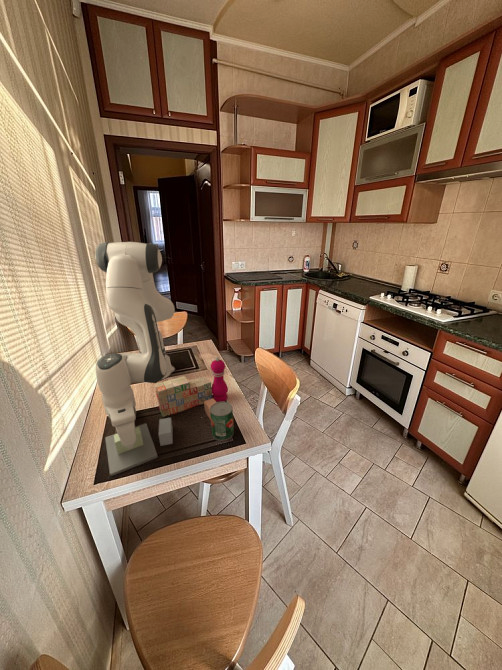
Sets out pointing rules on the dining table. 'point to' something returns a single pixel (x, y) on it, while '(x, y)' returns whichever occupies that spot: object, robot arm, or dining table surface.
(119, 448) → the sage brick
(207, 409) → the terracotta brick
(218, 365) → the pepper mill
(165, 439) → the slate brick
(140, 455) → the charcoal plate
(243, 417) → the dining table surface
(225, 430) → the canned tomato
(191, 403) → the stack of blocks
